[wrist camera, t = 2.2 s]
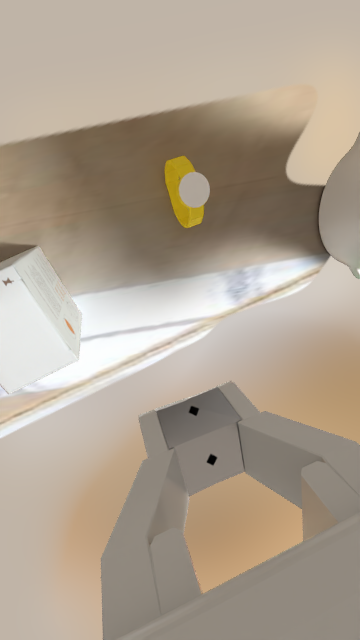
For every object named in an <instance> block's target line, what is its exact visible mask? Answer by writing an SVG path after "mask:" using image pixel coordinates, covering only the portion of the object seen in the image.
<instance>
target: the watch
mask: <svg viewBox="0 0 360 640" xmlns="http://www.w3.org/2000/svg"><path fill="white" fill-rule="evenodd" d="M164 172H165V182H166V183H165V184H166V185H167V189H168V192H169V196H170V199H171V203H172V206H173V210H174V213H175V215H176V217H177V219H178V221H179V222H180V223H181V225H182V226H183V227H185V228H189V227H192V226H195V225H198V224H201V222H202V219H203V216H204V204H205V203H206V202H207V200H208V198H209V194H210V185H209V183H208V180H207V179H206V178H205V176H204V175H202V174H201V173H198V172H195V169H194V167H193V165H192V164H191V162H190V161H189V160H188V159H187V158H186V157H185V156H184V155H183V156H180V157H177V158H174V159H170V160H167V161H166V164H165V171H164ZM179 177H180V180H179ZM187 208H188V209H187Z"/></svg>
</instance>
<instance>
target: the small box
mask: <svg viewBox="0 0 360 640" xmlns="http://www.w3.org/2000/svg"><path fill="white" fill-rule="evenodd" d="M81 319H82V313H81V312H80V310H79V309H78V307H77V305H76V304H75V302H74V301H73V299H72V298H71V296H70V294H69V293H68V291H67V290H66V288H65V287H64V285H63V283H62V282H61V280H60V279H59V277H58V275H57V274H56V272H55V271H54V269H53V268H52V266H51V264H50V263H49V261H48V260H47V258H46V256H45V255H44V253H43V252H42V250H41V248H40V247H39V246H36V247H34V248H31V249H29V250H27V251H24V252H22V253H20V254H18V255H15V256H13V257H11V258H9V259H7V260H4V261H2V262H0V385H1V387H2V388H3V389H4V390H5V391H6V392H7V393H8V394H11V393H13V392H15V391H17V390H19V389H21V388H23V387H25V386H27V385H29V384H31V383H33V382H35V381H37V380H39V379H41V378H43V377H45V376H47V375H49V374H51V373H53V372H55V371H57V370H59V369H61V368H63V367H65V366H67V365H69V364H71V363H73V362H76V361H77V360H79V351H80V336H81Z"/></svg>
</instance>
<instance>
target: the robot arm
mask: <svg viewBox="0 0 360 640" xmlns="http://www.w3.org/2000/svg"><path fill="white" fill-rule="evenodd" d="M319 230H320V235H321V239H322V242H323V244H324V246H325V248H326V250H327V251H328V253H329V254H330V255H331V256H332V257H333V258H335V259H336V260H338V261H340V262H342V263H344V264H346V265H347V266H348V267H349V268H350V270H351V271H352V273H353V275H354V276H355V277H356V278H358V279H360V133H359V135H358V137H357V139H356V142H355V144H354V145H353V147H352V148H351V149H350V150H349V152H348V153H347V154H346V155H345V156H344V157H343V158H342V159H341V160H340V162H339V163H338V164H337V166H336V167H335V169H334V170H333V172H332V174H331V175H330V177H329V179H328V181H327V183H326V186H325V189H324V191H323V195H322V198H321V203H320V209H319ZM155 410H156V411H155ZM155 410H152V411H149V412H146V413H143V414H140V415H139V422H140V427H141V431H142V435H143V439H144V443H145V448H146V452H147V456H148V459H146V460H143V461H142V464H141V466H140V468H139V471H138V473H137V475H136V478H135V480H134V482H133V485H132V487H131V489H130V492H129V494H128V496H127V499H126V501H125V503H124V506H123V508H122V510H121V513H120V515H119V518H118V520H117V522H116V525H115V527H114V529H113V532H112V534H111V536H110V539H109V541H108V543H107V546H106V548H105V550H104V553H103V555H102V557H101V581H102V621H103V640H360V445H359V444H358V443H357V442H355V441H352V440H349V439H346V438H343V437H340V436H337V435H335V434H332V433H329V432H326V431H323V430H320V429H317V428H314V427H311V426H308V425H305V424H302V423H299V422H296V421H293V420H290V419H287V418H284V417H281V416H278V415H275V414H272V413H269V412H266V411H264V412H262V413H260V412H259V411H258V409H257V408H256V407H255V406H254V405H253V404H252V403H251V401H250V400H249V399H248V398H247V397H246V396H245V395H244V393H243V392H242V391H241V390H240V389H239V388H238V387H237V385H236V384H235V383H234V382H232V381H229V382H226V383H224V384H221V385H219V386H217V387H215V388H212V389H210V390H207V391H204V392H202V393H199V394H197V395H194V396H191V397H189V398H186V399H183V400H180V401H177V402H174V403H171V404H168V405H165V406H163V407H160V408H157V409H155ZM156 413H157V414H156ZM242 472H246V474H248V475H250V476H251V477H253V478H254V479H256V480H257V481H259V482H260V483H262V484H264V485H265V486H267V487H268V488H270V489H271V490H273V491H274V492H276V493H277V494H279V495H281V496H282V497H284V498H285V499H287V500H289V501H290V502H292V503H293V504H295V505H296V506H298V507H300V508H301V509H302V514H303V515H302V516H303V542H301V543H299V544H297V545H295V546H293V547H291V548H289V549H288V550H285V551H284V552H282V553H280V554H278V555H276V556H274V557H272V558H270V559H268V560H266V561H265V562H263V563H261V564H259V565H257V566H255V567H253V568H251V569H249V570H247V571H245V572H243V573H242V574H240V575H238V576H236V577H234V578H232V579H230V580H228V581H226V582H224V583H222V584H221V585H219V586H217V587H215V588H213V589H211V590H209V591H207V592H205V593H202V590H201V587H200V583H199V581H198V577H197V574H196V571H195V568H194V565H193V562H192V559H191V556H190V553H189V550H188V547H187V544H186V541H185V538H184V528H185V522H186V516H187V510H188V504H189V496H191V495H193V494H195V493H197V492H199V491H201V490H203V489H205V488H207V487H210V486H211V485H214V484H216V483H218V482H220V481H223V480H225V479H228V478H230V477H233V476H235V475H237V474H240V473H242Z"/></svg>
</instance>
